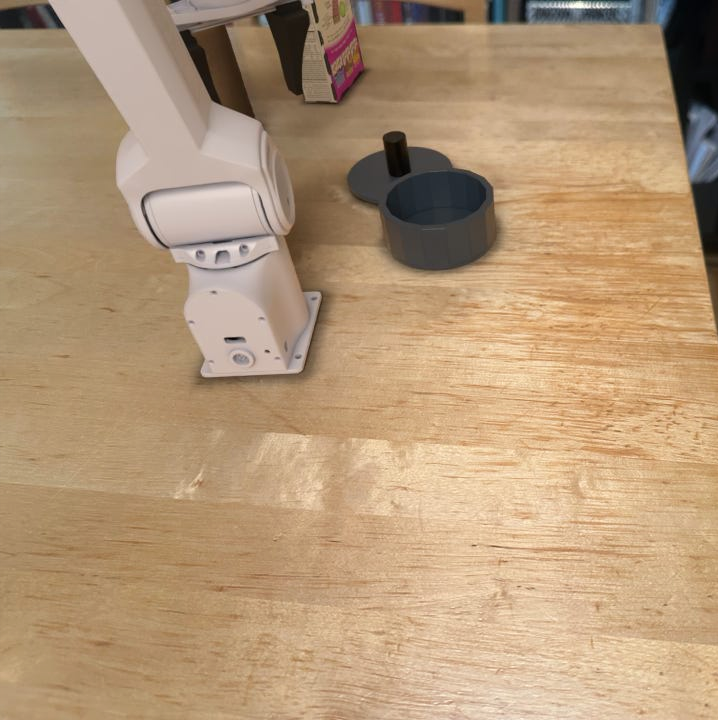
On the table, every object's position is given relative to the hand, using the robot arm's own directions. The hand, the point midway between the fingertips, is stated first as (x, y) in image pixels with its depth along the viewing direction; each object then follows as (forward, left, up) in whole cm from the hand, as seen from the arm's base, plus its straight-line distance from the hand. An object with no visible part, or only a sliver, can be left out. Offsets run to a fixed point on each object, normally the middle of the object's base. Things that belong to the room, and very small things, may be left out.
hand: (258, 104), depth 61 cm
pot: (-8, -16, -10) cm, 21 cm away
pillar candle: (+15, +12, -10) cm, 21 cm away
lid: (+3, -12, -10) cm, 16 cm away
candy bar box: (+29, 0, -10) cm, 31 cm away
